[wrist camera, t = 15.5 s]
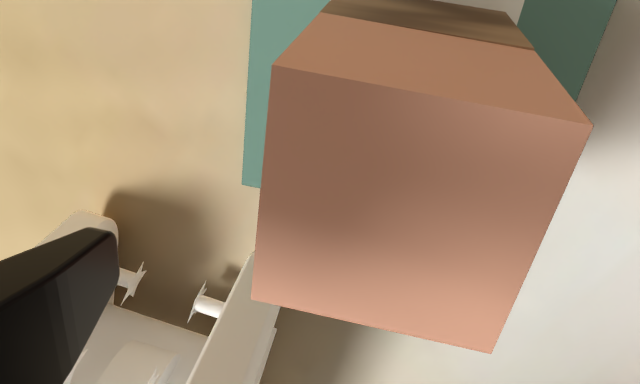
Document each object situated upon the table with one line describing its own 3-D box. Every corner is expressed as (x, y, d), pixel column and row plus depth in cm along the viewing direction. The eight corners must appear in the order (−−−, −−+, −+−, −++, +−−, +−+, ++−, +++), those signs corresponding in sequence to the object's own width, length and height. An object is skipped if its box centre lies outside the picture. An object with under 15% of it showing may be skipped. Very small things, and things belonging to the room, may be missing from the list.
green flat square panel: (646, -85, 15) (652, -85, 15) (517, 235, 21) (519, 241, 21) (263, -141, 16) (259, -142, 16) (244, 180, 22) (241, 185, 22)
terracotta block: (535, 50, 13) (593, 126, 8) (471, 229, 15) (491, 354, 11) (320, 11, 13) (271, 64, 9) (296, 192, 16) (250, 299, 12)
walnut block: (505, 12, 17) (534, 48, 13) (461, 157, 20) (473, 228, 15) (344, -15, 17) (319, 12, 13) (323, 131, 20) (297, 193, 16)
